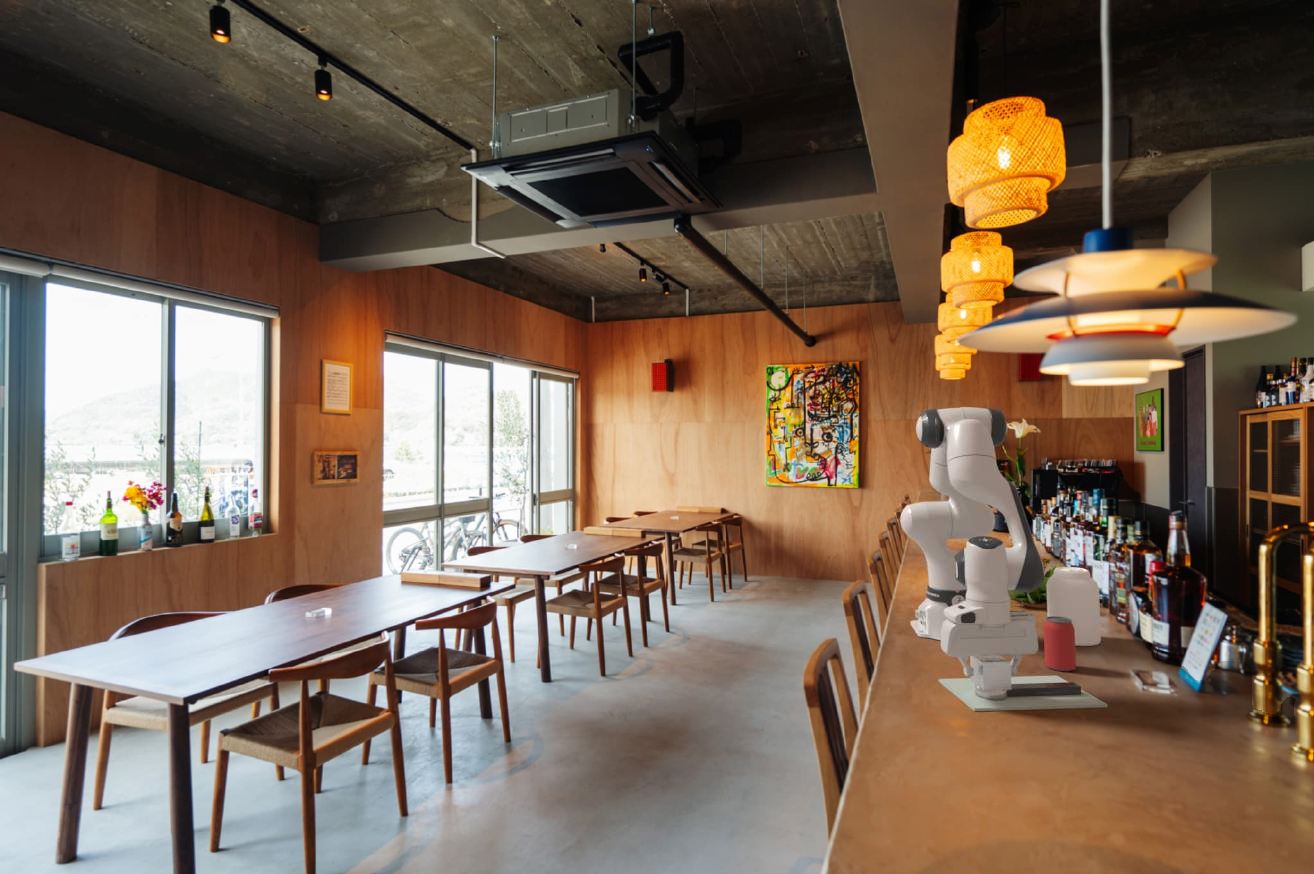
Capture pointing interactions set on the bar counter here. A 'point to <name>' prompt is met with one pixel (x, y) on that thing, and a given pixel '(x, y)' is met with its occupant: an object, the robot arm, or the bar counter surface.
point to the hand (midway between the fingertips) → (990, 674)
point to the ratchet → (1030, 690)
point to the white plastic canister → (1076, 602)
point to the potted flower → (1038, 595)
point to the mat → (967, 694)
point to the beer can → (1059, 644)
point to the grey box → (991, 672)
